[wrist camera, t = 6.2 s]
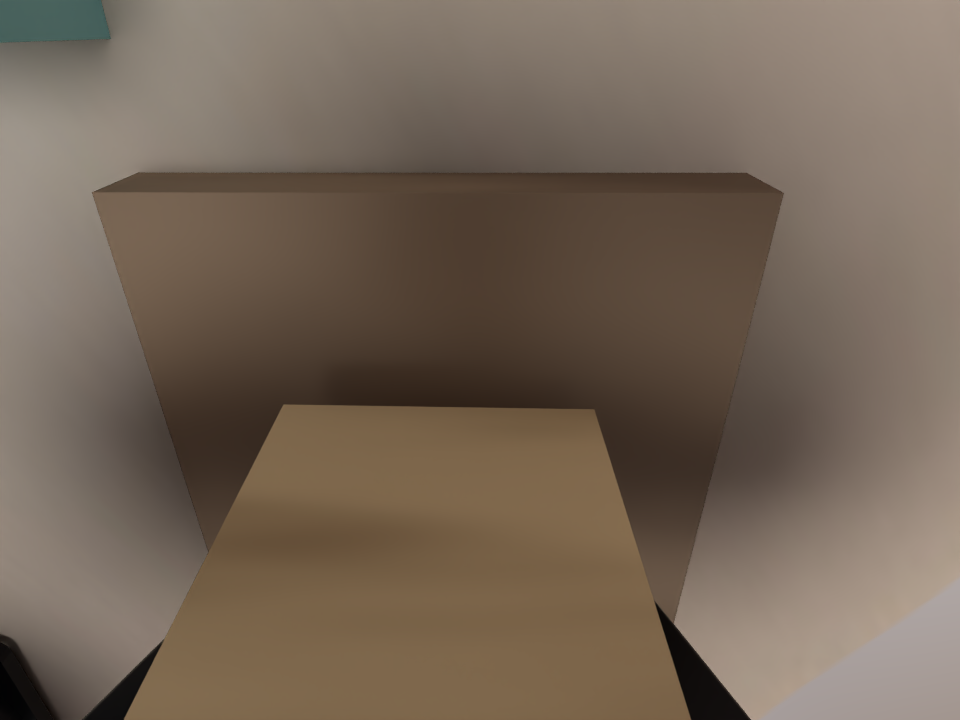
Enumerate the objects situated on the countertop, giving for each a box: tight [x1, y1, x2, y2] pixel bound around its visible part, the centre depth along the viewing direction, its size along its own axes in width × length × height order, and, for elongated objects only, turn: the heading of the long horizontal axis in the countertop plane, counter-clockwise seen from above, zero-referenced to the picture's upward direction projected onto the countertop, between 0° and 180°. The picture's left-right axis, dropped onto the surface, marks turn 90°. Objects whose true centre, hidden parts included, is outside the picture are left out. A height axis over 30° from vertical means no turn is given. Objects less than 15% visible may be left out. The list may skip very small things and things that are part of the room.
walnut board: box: [92, 173, 784, 624], centre depth 13 cm, size 11×11×2 cm
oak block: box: [124, 405, 691, 720], centre depth 8 cm, size 5×5×5 cm
